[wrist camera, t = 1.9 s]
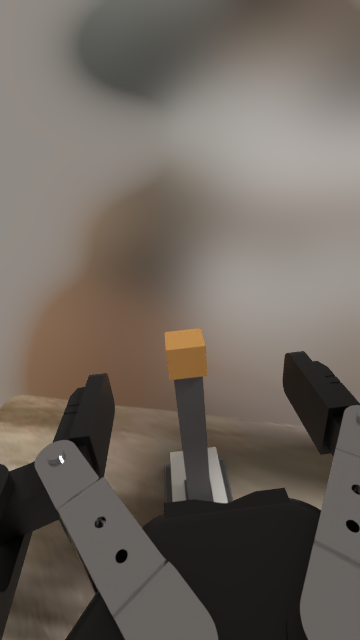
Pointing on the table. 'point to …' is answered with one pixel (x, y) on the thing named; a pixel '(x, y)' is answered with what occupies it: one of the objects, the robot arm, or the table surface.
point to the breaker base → (178, 483)
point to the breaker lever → (190, 405)
